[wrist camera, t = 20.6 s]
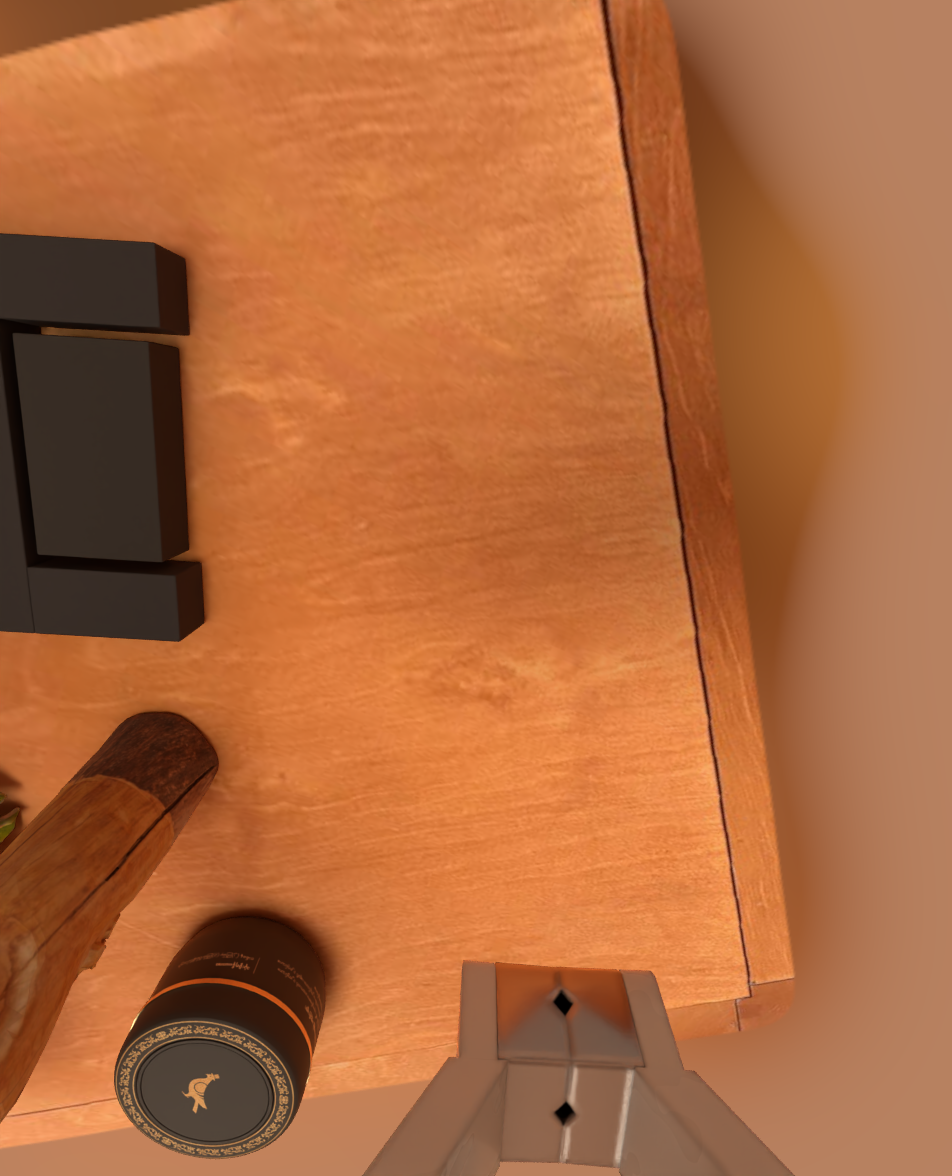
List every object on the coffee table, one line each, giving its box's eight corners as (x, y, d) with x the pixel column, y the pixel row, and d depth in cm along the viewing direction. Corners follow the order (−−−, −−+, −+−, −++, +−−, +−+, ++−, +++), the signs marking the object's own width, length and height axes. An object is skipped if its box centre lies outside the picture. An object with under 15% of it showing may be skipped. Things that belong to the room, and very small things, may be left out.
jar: (182, 1031, 42) (118, 1161, 35) (168, 902, 40) (96, 1013, 33) (335, 1036, 42) (304, 1168, 35) (331, 907, 40) (296, 1019, 32)
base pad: (-156, 238, 31) (-224, 219, 28) (185, 258, 31) (154, 242, 28) (-92, 606, 35) (-144, 623, 32) (204, 623, 35) (179, 642, 32)
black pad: (54, 340, 32) (11, 332, 29) (179, 348, 32) (148, 341, 29) (74, 542, 34) (36, 554, 31) (189, 550, 34) (162, 562, 31)
